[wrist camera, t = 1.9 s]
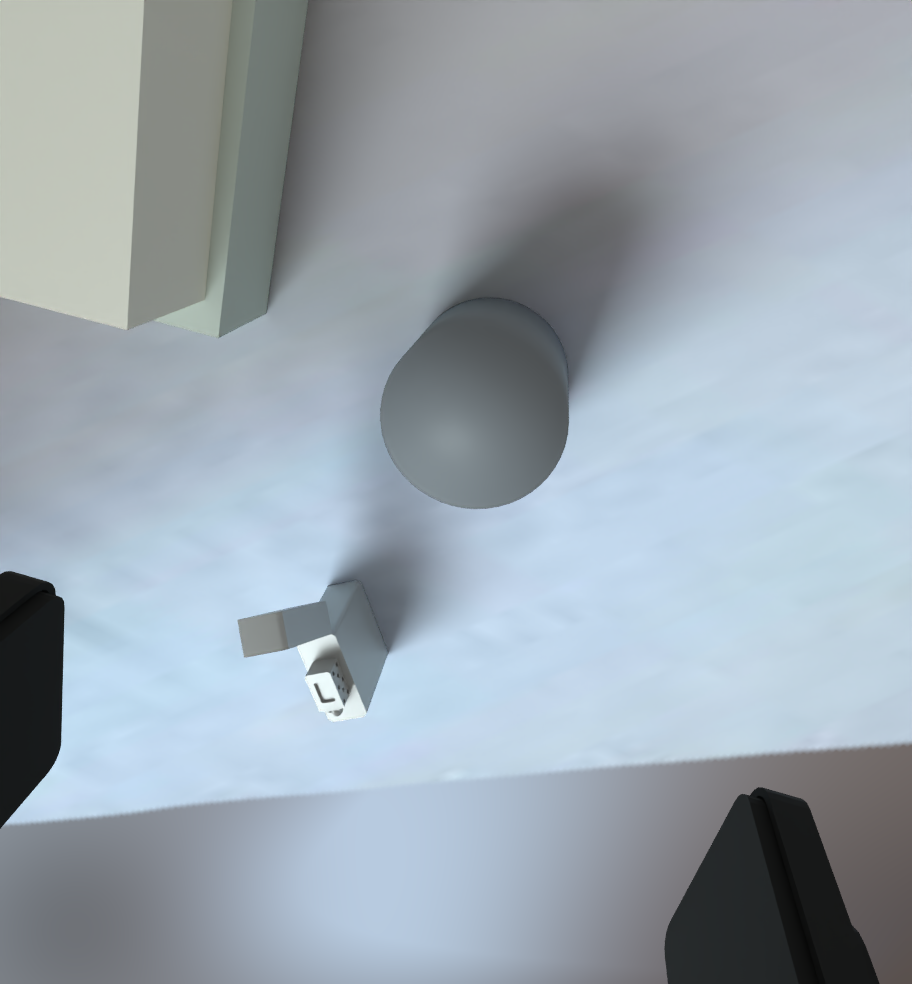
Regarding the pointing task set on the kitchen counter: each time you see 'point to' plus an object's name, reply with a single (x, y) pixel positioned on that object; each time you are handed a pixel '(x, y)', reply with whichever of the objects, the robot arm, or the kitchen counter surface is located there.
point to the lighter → (327, 647)
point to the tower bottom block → (249, 164)
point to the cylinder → (479, 405)
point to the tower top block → (109, 153)
